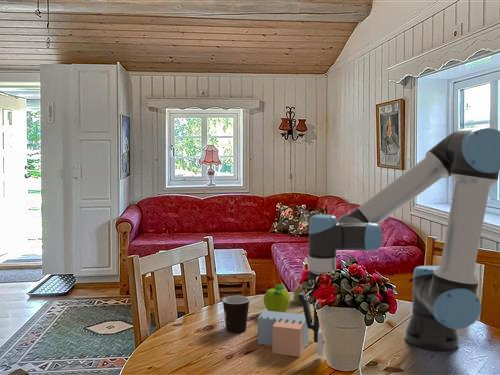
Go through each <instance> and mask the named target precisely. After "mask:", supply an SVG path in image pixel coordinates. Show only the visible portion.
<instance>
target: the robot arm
mask: <svg viewBox="0 0 500 375" xmlns="http://www.w3.org/2000/svg"><path fill="white" fill-rule="evenodd" d="M499 175H500V130H499V129H496V128H493V127H487V126H475V127H471V128H469V127H467V128H459V129H456V130H455V131H453V132H451V133H450V134H448V135H447V136H446V137H445V138H443V139H442V140H440V141H439V142H438V143H437V144H436V145H435V146H433V147H432V148H430V149H429V150H428V151H426V153H425V156H424V158H423V159H422V160H420V161H419V162H418V163H416V164H414V166H412V167H411V168H409V169H408V170H407V171H405V172H404V173H403V174H401V175H400V176H399V177H397V178H396V179H395V180H393V181H391V183H389V184H387V186H385V187H384V188H383V189H381V190H380V191H378V192H377V193H375V194H374V195H373V196H372V197H370V198H369V199H368V200H366V201H365V202H364V203H362V204H360V205H359V206H358V207H357V208H356V209H354V210H352V211H351V212H350V213H346V214H343V215H342V216H340V217H339V218H338V219H337V216H336V215H332V214H324V213H322V214H315V215H312V216H311V217H310V218H309V222H308V224H309V226H308V259H307V260H308V262H307V263H308V267H307V268H308V270H309V271H308V275H307V278H308V277H309V279H314V278H316V277H318V276H320V274H323V273H328V272H330V271H333V270H335V269H336V270H337V251H366V252H368V251H378V250H379V249H380V248H381V247H382V242H383V233H382V227H381V225H380V223H382V222H383V221H385V220H386V219H388V218H389V217H390V216H392V215H393V214H394V213H396V212H397V211H398V210H400V209H401V208H403V207H404V206H405V205H406V204H408V203H409V202H411V201H412V200H414V199H415V198H417V196H419V195H420V194H422V193H424V191H426V190H427V189H429V188H430V187H431V186H433V185H434V184H436V183H437V182H438V181H439V180H441V179H443V178H444V179H448V178H450V177H452V179H454V185H453V186H454V187H453V192H452V198H451V205H450V209H449V215H448V219H447V220H448V221H447V227H446V233H445V237H444V238H445V239H444V244H443V249H442V253H441V260H440V263H439V264H440V265H418V266H415V268H414V269H413V276H412V306H411V307H412V312H411V316H410V318H409V322H408V323H407V326H406V329H405V340H406V341H407V342H408V343H409V344H411V345H412V346H414V347H417V348H421V349H423V350H429V351H437V352H438V351H439V352H444V351H443V350H446V351H452V350H454V348H455V349H456V348H458V346H459V341H460V340H459V334H458V332H457V331H458V330H463V329H467V328H468V327H470V326H472V325H474V324H475V323H476V322H477V321H478V319H479V317H480V315H481V312H482V303H481V301H480V299H479V297H478V295H477V292H478V286H479V279H478V278H477V276H476V275H475V269H476V268H475V267H476V264H477V258H478V252H479V246H480V241H481V235H482V230H483V226H484V219H485V215H486V214H485V213H486V210H487V209H486V208H487V205H488V199H489V194H490V188H491V186H492V185H494V184H495V183H497V182H498V179H499ZM336 270H335V271H336ZM298 297H299V299H300V301H301V302H302V304H301V306H302V309H303V315H305V319H306V323H307V327H308V330H312V331H313V341H314V343H317V350H316V351H317V354H316V355H317V356H318V357H319V356H321V357H323V356H324V354H325V343H324V341H323V335H322V331H321V328H320V327H321V326H320V322H319V319H318V316H317V312H316V309H315V307H314V306H313V317H312V314H311V313H312V312H311V308H310V304H309V303H308V300H307V297H306V294H305V292H302V293H300V295H299V296H298ZM451 349H452V350H451Z"/></svg>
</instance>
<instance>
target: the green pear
mask: <svg viewBox="0 0 500 375" xmlns="http://www.w3.org/2000/svg"><path fill="white" fill-rule="evenodd" d="M299 278H300V276H298V277H297V278H295V280H296V281H297V282H298V283H299ZM302 292H303V291H302V289H301V287H300V285H299V284H298V285H297V286H296V287H294V288H293V290H292V293H293V295H292V302H293V303H295V304H297V305H302V302H301V301H300V299H299V297H298V296H299V295H300V293H302Z"/></svg>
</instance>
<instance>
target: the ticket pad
mask: <svg viewBox="0 0 500 375" xmlns="http://www.w3.org/2000/svg"><path fill="white" fill-rule="evenodd" d="M277 320H281V321H289V322H298V323H304V339H303V351H304V349H305V348H306V346H307V344H308V342H309V329H308V327H307V323H306V319H305V314H304V313H302V314H301V313H294V312H275V311H268V310H267V309H265V310H263V311H262V313H260V315H259V316H258V317H257V344H258V345H265V346H266V345H267V346H272V347H273V325H274V324H275V322H276V321H277Z"/></svg>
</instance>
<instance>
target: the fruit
mask: <svg viewBox="0 0 500 375" xmlns="http://www.w3.org/2000/svg"><path fill="white" fill-rule="evenodd" d="M263 303H264V306H265V308H266V311H275V312H285V313H287V311H288V309H289V308H290V306H291V297H290V293H289V292H288V291H287V290H286V288H284V284H279V283H278V284H276V285H275V287H274V288H269V289H268V290H267V291H266V292H265V294H264V296H263Z"/></svg>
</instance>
